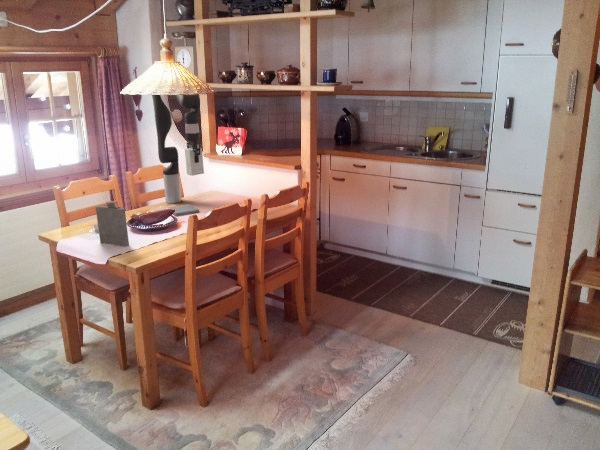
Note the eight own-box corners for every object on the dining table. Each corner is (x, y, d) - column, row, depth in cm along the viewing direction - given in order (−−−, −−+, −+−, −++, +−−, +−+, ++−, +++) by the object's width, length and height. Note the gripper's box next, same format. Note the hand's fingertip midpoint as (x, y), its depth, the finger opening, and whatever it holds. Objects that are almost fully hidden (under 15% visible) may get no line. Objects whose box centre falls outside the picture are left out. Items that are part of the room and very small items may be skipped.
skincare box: (199, 172, 305) (197, 146, 300) (204, 173, 300) (202, 147, 296) (186, 174, 299) (184, 148, 295) (191, 176, 295) (189, 149, 291)
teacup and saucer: (110, 230, 268) (109, 222, 266) (96, 234, 261) (95, 226, 260) (99, 228, 272) (98, 220, 271) (86, 232, 266) (84, 224, 265)
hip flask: (98, 243, 247) (93, 201, 241) (105, 240, 250) (99, 199, 245) (125, 246, 241) (120, 204, 235) (131, 244, 244) (126, 202, 239)
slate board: (165, 210, 303) (165, 207, 303) (188, 206, 310) (188, 204, 310) (175, 216, 290) (175, 213, 290) (199, 212, 297) (199, 209, 297)
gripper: (181, 131, 297) (183, 160, 301) (191, 133, 285) (193, 164, 290) (193, 130, 301) (195, 159, 305) (203, 132, 289) (205, 162, 294)
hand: (194, 161), depth 298 cm, fingers closed on skincare box, 6 cm apart
